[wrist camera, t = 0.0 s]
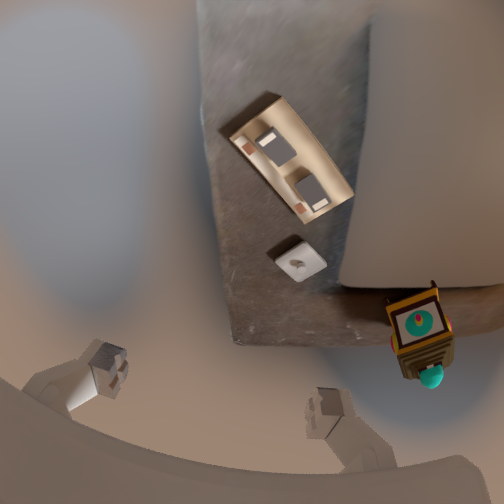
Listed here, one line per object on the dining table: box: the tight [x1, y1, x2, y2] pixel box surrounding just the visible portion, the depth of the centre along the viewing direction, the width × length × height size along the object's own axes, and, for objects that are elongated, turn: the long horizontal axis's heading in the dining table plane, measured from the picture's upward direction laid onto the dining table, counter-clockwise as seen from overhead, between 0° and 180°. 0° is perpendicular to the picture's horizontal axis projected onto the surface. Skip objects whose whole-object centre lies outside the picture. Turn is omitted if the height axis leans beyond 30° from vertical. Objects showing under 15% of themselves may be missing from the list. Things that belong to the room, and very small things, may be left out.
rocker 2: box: [294, 172, 332, 213], centre depth 56 cm, size 4×7×2 cm, turn 41°
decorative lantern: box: [384, 280, 455, 388], centre depth 69 cm, size 20×20×30 cm
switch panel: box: [229, 97, 354, 224], centre depth 56 cm, size 13×25×4 cm, turn 41°
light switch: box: [275, 241, 327, 282], centre depth 71 cm, size 10×10×5 cm
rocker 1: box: [255, 126, 297, 167], centre depth 51 cm, size 4×7×2 cm, turn 40°
